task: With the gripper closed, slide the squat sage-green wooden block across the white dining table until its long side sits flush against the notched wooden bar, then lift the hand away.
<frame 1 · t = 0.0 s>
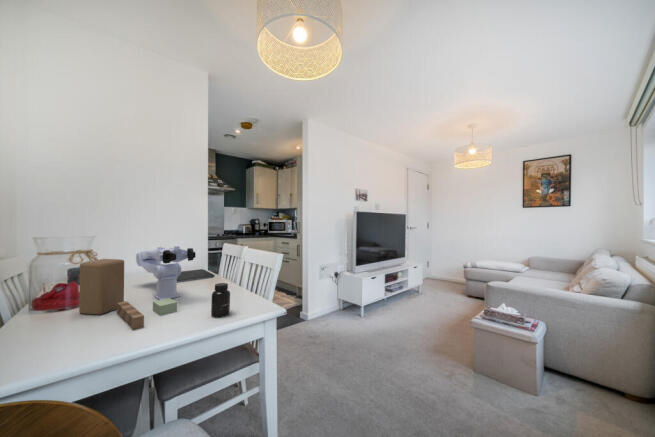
hand: (185, 256, 105), 22 cm above the table, tool horizontal, fingers open, 7 cm apart
supplement bottle: (220, 314, 98), on the table
block: (102, 310, 100), on the table
notched wooden bar: (129, 319, 92), on the table
sage block: (164, 311, 101), on the table
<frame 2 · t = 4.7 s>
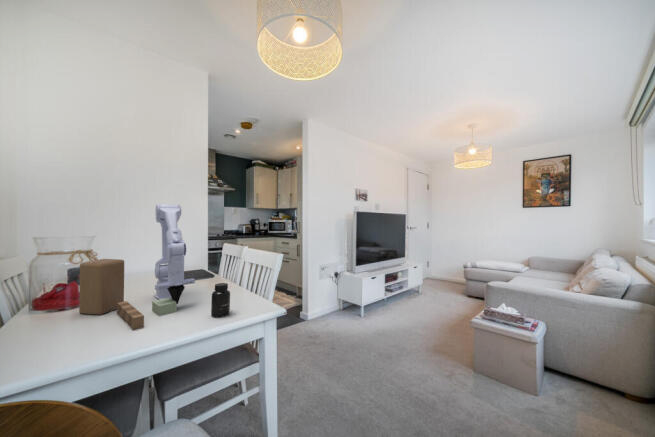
hand: (175, 303, 104), 2 cm above the table, tool pointing down, fingers closed
sage block: (164, 311, 101), on the table, touching gripper
everything else where it was.
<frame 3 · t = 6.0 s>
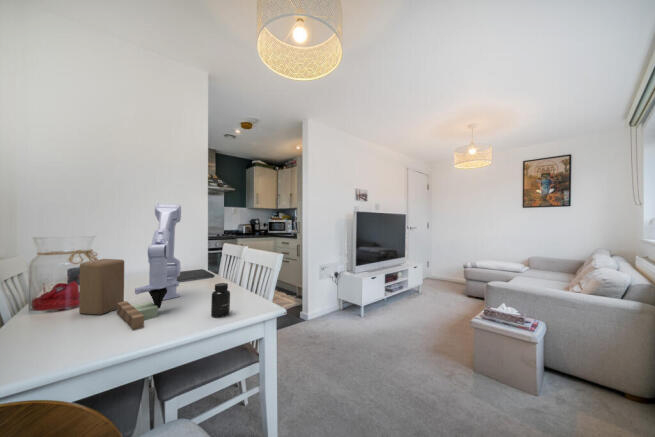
hand: (157, 307, 99), 2 cm above the table, tool pointing down, fingers closed
sage block: (144, 316, 95), on the table, touching gripper
everything else where it was.
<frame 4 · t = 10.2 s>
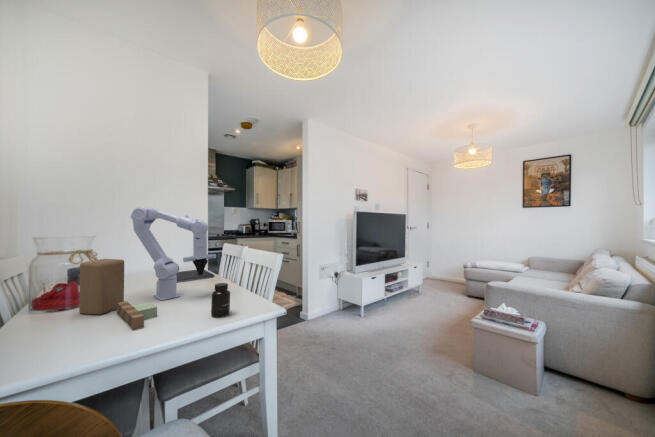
hand: (200, 274, 119), 10 cm above the table, tool pointing down, fingers closed
sage block: (144, 316, 95), on the table
everything else where it was.
at the end: sage block inside the target area on the table beside the notched wooden bar (0.1 cm from its centre), on the table; sage block tilted 0°; the gripper is holding nothing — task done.
